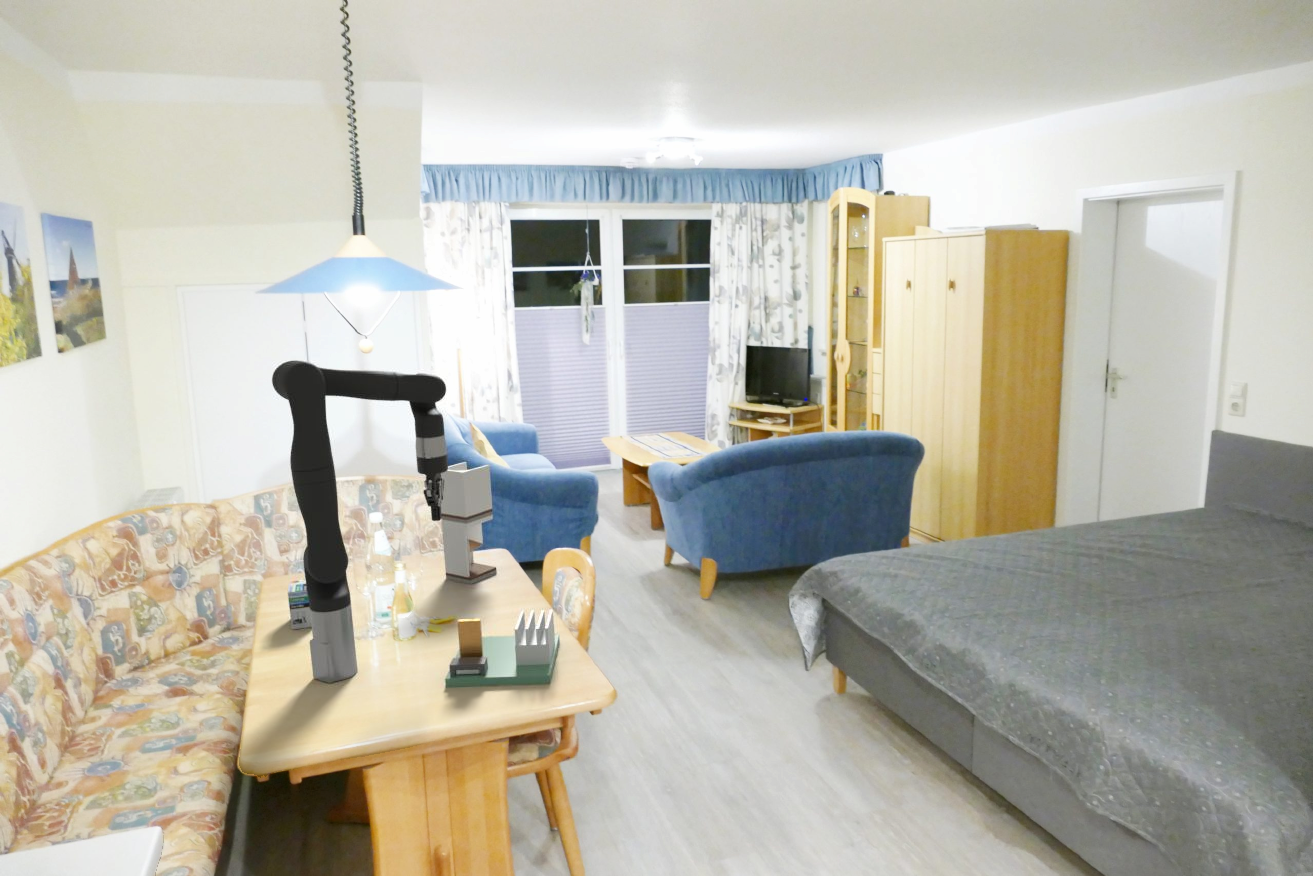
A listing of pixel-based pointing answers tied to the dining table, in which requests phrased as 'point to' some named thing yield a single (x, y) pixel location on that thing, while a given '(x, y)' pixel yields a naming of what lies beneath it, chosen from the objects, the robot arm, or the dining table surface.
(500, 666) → the heatsink board
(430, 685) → the dining table surface
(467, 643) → the upright wooden plank
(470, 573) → the notched white tower
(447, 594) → the dining table surface
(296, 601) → the light bulb box
